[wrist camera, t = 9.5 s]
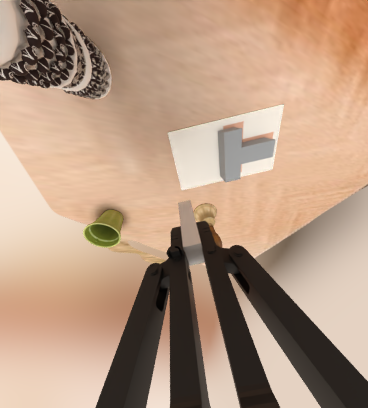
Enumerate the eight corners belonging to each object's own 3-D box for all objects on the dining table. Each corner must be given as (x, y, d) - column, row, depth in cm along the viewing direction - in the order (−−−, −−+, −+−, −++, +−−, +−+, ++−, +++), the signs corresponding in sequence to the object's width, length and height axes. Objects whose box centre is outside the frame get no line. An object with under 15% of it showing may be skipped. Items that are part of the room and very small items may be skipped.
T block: (217, 130, 32) (224, 132, 29) (266, 119, 32) (279, 119, 28) (220, 176, 39) (225, 182, 35) (260, 167, 39) (270, 172, 35)
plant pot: (111, 231, 47) (101, 251, 39) (90, 212, 42) (74, 231, 34) (134, 221, 45) (127, 240, 38) (115, 200, 40) (103, 218, 33)
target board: (167, 132, 32) (167, 132, 32) (283, 104, 31) (284, 104, 31) (181, 190, 40) (181, 190, 40) (272, 169, 40) (272, 169, 39)
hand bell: (205, 199, 43) (222, 234, 30) (220, 212, 47) (241, 249, 33) (188, 214, 46) (196, 253, 33) (203, 225, 50) (216, 265, 36)
